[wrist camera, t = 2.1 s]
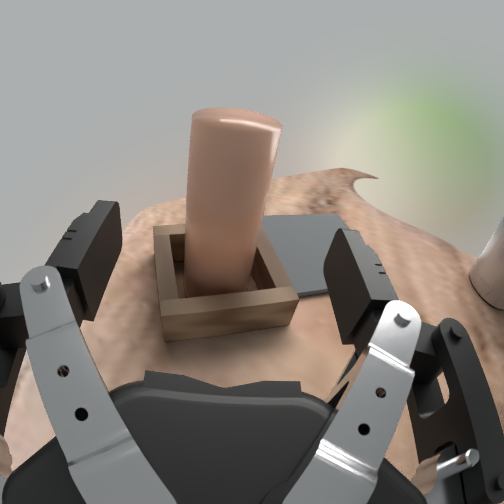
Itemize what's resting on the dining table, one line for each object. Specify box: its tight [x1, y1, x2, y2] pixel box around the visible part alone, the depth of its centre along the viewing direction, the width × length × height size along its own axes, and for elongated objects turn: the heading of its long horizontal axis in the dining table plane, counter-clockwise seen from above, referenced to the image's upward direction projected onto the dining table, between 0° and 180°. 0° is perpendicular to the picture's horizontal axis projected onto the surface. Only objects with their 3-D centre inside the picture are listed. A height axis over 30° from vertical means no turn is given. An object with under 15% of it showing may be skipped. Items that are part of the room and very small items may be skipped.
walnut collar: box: [153, 224, 299, 342], centre depth 28 cm, size 11×11×4 cm
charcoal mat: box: [261, 214, 349, 297], centre depth 36 cm, size 13×13×1 cm
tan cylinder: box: [184, 108, 282, 298], centre depth 25 cm, size 8×6×16 cm
